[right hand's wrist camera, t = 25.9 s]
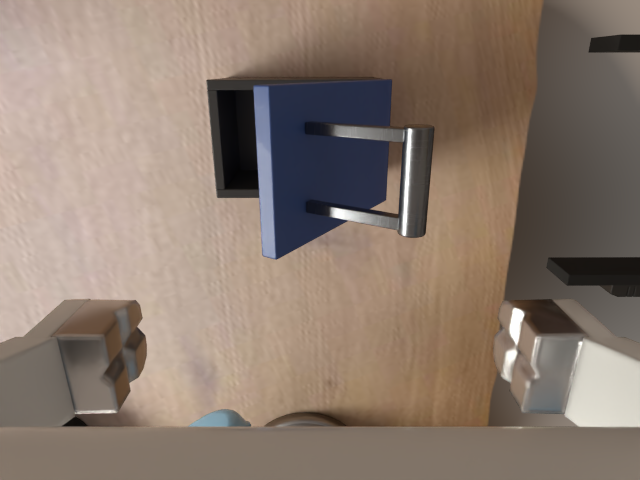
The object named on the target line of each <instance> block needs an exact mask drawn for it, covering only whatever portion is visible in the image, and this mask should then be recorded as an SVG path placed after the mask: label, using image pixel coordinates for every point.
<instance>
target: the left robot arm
mask: <svg viewBox="0 0 640 480" xmlns="http://www.w3.org/2000/svg"><path fill="white" fill-rule="evenodd" d="M589 52H640V35H615V36H606V37H597V38H591V42H590V47H589ZM547 269H549V270H550V271H551V272H552V273H553V274H554V275H556V276H557V277H558V278H559V279H560V280H561V281H562V282H564V283H565V284H566V285H600V286H601V287H602V288H604V289H605V290H606V291H607V292H609V293H610V294H612V295H615V296H617V297H626V296H627V297H632V296H633V297H640V257H626V258H625V257H624V258H623V257H620V258H618V257H617V258H548V263H547ZM188 427H251V424H250V422H248V421H245V420H244V419H243V418H242V417H241V416H240V415H239V414H238V413H237V412H235V411H233V410H228V409H223V410H218V411H214V412H212V413H209V414H207V415H205V416H203V417H202V418H200V419H199V420H197V421H195V422H194V423H192V424H191V425H189V426H188ZM264 427H347V426H346V425H344V424H343V423H341V422H339V421H338V420H336V419H333V418H331V417H328V416H325V415H321V414H315V413H295V414H289V415H285V416H282V417H279V418H277V419H275V420H273V421H271V422H269V423H268V424H266V425H265V426H264Z"/></svg>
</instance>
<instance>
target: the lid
mask: <svg viewBox="0 0 640 480" xmlns="http://www.w3.org/2000/svg"><path fill="white" fill-rule="evenodd" d="M253 88H254V107H255V125H256V144H257V163H258V181H259V200H260V218H261V237H262V255H263V256H265V257H268V258H272V259H279V258H280V257H282V256H284V255H286V254H288V253H290V252H291V251H293V250H295V249H297V248H299V247H301V246H303V245H304V244H306V243H308V242H310V241H312V240H314V239H315V238H317V237H319V236H321V235H323V234H325V233H326V232H328V231H330V230H332V229H334V228H336V227H337V226H339V225H341V224H343V223H345V222H347V221H353V222H358V223H363V224H368V225H373V226H379V227H384V228H389V229H394V230H397V231H398V234H399V235H401V236H404V237H410V238H417V237H422V236H424V235H425V233H426V222H427V211H428V199H429V187H430V175H431V164H432V152H433V140H434V126H432V125H424V124H411V125H405V126H404V127H393V126H390V111H391V91H392V80H391V79H376V80H354V81H332V82H310V83H288V84H266V85H254V87H253ZM389 142H401V143H403V148H402V165H401V181H400V198H399V214H393V213H388V212H382V211H376V210H370V209H371V208H372V207H374V206H376V205H378V204H380V203H382V202H384V201H385V200H386V191H387V171H388V151H389Z"/></svg>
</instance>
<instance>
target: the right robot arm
mask: <svg viewBox="0 0 640 480" xmlns="http://www.w3.org/2000/svg"><path fill="white" fill-rule="evenodd" d="M141 320H142V313H141V308H140V305H139V303H138V302H137V301H136V300H91V299H71V300H64V301H63V302H62V303H61V304H60V305H59V306H57V307H56V308H55V309H54V310H53V311H52V312H51V313H50V314H48V315H47V316H46V317H45V318H44V319H43V320H42V321H41V322H39V323H38V324H37V325H36V326H35V327H34V328H33V329H32V330H30V331H29V332H28V333H27V334H26V335H25V336H24V337H15V338H12V339H10V340H7V341H4V342H2V343H0V480H640V343H638V342H636V341H633V340H630V339H628V338H625V337H616V336H615V335H614V334H613V333H612V332H611V331H610V330H608V329H607V328H606V327H605V326H604V325H603V324H602V323H601V322H600V321H598V320H597V319H596V318H595V317H594V316H593V315H592V314H591V313H589V312H588V311H587V310H586V309H585V308H584V307H583V306H582V305H580V304H579V303H578V302H577V301H576V300H572V299H556V300H552V299H543V300H507V301H502V303H501V305H500V308H499V313H498V320H499V321H500V323H501V324H502V326H503V327H502V328H501V329H500V330H499V332H498V333H497V334H496V335H495V337H494V345H493V353H494V362H495V365H496V368H497V370H498V372H499V374H500V376H501V377H502V378H504V379H505V380H507V381H509V382H510V383H511V385H510V392H511V394H512V396H513V398H514V399H515V401H516V403H517V404H518V406H519V408H520V409H521V411H522V412H523V413H544V414H565V417H567V418H568V419H569V420H571V421H572V422H573V423H575V424H576V425H578V426H579V427H61V426H63V425H64V424H65V423H67V422H68V421H69V420H71V419H72V418H74V417H75V414H96V413H118V411H119V409H120V408H121V406H122V404H123V403H124V401H125V399H126V398H127V396H128V394H129V393H130V385H129V383H130V382H131V381H133V380H135V379H136V378H138V377H139V376H140V374H141V372H142V370H143V368H144V364H145V360H146V356H147V344H146V337H145V335H144V334H143V333H142V332H141V330H140V329H139V328H138V327H137V326H138V324H139V323H140V321H141Z"/></svg>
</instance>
